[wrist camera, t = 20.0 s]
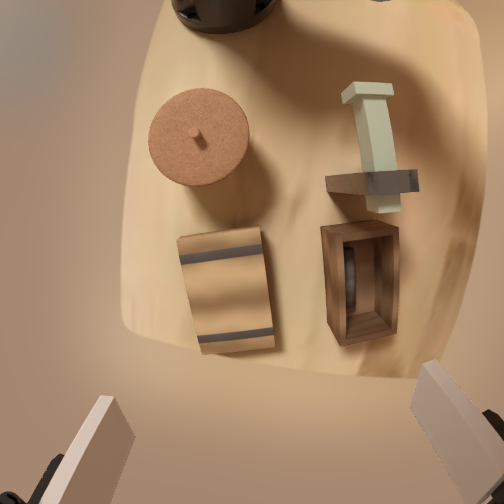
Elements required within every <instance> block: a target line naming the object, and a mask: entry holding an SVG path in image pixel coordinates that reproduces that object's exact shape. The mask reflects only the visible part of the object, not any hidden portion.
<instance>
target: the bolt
mask: <svg viewBox="0 0 504 504" xmlns="http://www.w3.org/2000/svg"><path fill="white" fill-rule="evenodd" d="M392 96H394V91H393V87H392V83H378V82H352V83H351V84H350V85H349V86H348V87H347V88H346V89H345V90H344V91H343V92H342V93H341V98H342V103H343V105H344V104H352V107H353V112H354V118H355V123H356V129H357V135H358V141H359V148H360V155H361V162H362V170H363V172H376V171H394V170H397V163H396V155H395V148H394V141H393V135H392V129H391V124H390V118H389V113H388V108H387V103H386V100H387V99H388V98H390V97H392ZM365 196H366V207H367V211H371V212H375V213H379V214H380V213H389V212H398V211H401V203H400V193H395V194H384V195H373V196H367V195H365Z"/></svg>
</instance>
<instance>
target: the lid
mask: <svg viewBox="0 0 504 504" xmlns="http://www.w3.org/2000/svg"><path fill="white" fill-rule="evenodd" d="M176 241H177V246H178V251H179V258H180V263H181V266H182V271H183V276H184V281H185V285H186V290H187V294H188V299H189V303H190V308H191V312H192V316H193V320H194V325H195V329H196V333H197V338H198V342H199V345H200V348H201V352H202V355H208V354H219V353H229V352H239V351H248V350H256V349H264V348H272V347H275V340H274V331H273V324H272V317H271V309H270V301H269V294H268V286H267V279H266V271H265V264H264V257H263V248H262V242H261V235H260V228H259V225H255V226H248V227H241V228H234V229H227V230H220V231H214V232H207V233H201V234H194V235H188V236H181V237H180V238H178V239H177V240H176Z"/></svg>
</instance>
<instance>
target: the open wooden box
mask: <svg viewBox="0 0 504 504" xmlns="http://www.w3.org/2000/svg"><path fill="white" fill-rule="evenodd" d="M321 238H322V249H323V261H324V274H325V289H326V306H327V323H328V325H329V326H330V328H331V330H332V332H333V334H334V336H335V338H336V340H337V341H338V343H339V345H340V346H344V345H349V344H354V343H359V342H363V341H368V340H372V339H376V338H380V337H384V336H388V335H392V334H396V333H397V320H398V303H399V227H396V226H393V225H390V224H387V223H384V222H381V221H377V220H369V221H361V222H353V223H346V224H338V225H330V226H322V227H321Z"/></svg>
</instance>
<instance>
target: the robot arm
mask: <svg viewBox="0 0 504 504" xmlns="http://www.w3.org/2000/svg"><path fill="white" fill-rule="evenodd" d="M275 1H276V0H171V2H172V6H173V9H174V11H175V13H176V15H177V17H178V18H179V20H180V21H181V22H182V23H184V24H185V25H186V26H188V27H190V28H192V29H195V30H198V31H201V32H206V33H231V32H237V31H241V30H244V29H247V28H250V27H252V26H254V25H256V24H258V23H259V22H261V21H262V20H263V19H265V18H266V17H267V16H268V15H269V14H270V12H271V11H272V9H273V7H274V5H275ZM372 1H377V2H382V1H390V0H372ZM411 410H412V412H413V413H414V415H415V417H416V418H417V420H418V421H419V423H420V425H421V427H422V428H423V430H424V432H425V433H426V435H427V437H428V439H429V440H430V442H431V444H432V445H433V447H434V449H435V451H436V452H437V454H438V456H439V457H440V460H441V461H442V463H443V465H444V467H445V469H446V470H447V472H448V474H449V476H450V478H451V480H452V482H453V483H454V485H455V487H456V489H457V491H458V493H459V495H460V497H461V499H462V501H463V503H464V504H481V503H483V502H484V501H485V500H486V499H487V498H488V497H489V496H490V495H491V496H492V497H493V498H492V499H491V501H489V502H488V503H487V504H504V421H503V420H502V419H501V417H500V416H499V415H498V414H496V413H494V412H492V411H491V410H489V409H488V410H486V411H485V412H483V413H481V412H480V410H479V409H478V408H477V407H476V406H475V404H474V403H473V402H472V401H471V399H470V398H469V397H468V396H467V395H466V393H465V392H464V391H463V390H462V389H461V388H460V386H459V385H458V384H457V383H456V382H455V380H454V379H453V378H452V377H451V376H450V375H449V374H448V373H447V371H446V370H445V369H444V368H443V367H442V366H441V364H440V363H439V362H438V361H437V360H436V359H434V360H431V361H428V362H425V363H422V364H421V369H420V373H419V377H418V382H417V386H416V389H415V394H414V397H413V401H412V404H411ZM135 437H136V436H135V435H134V433H133V431H132V429H131V427H130V426H129V424H128V422H127V420H126V418H125V416H124V415H123V413H122V411H121V409H120V407H119V405H118V403H117V401H116V399H115V397H113V396H103V395H100V397H99V399H98V400H97V402H96V403H95V405H94V407H93V408H92V410H91V412H90V413H89V415H88V417H87V418H86V420H85V421H84V423H83V425H82V427H81V428H80V430H79V432H78V433H77V435H76V437H75V438H74V440H73V442H72V444H71V445H70V447H69V449H68V451H67V452H66V454H65V455H63V454H59V455H57V456H56V457H55V458H54V459H53V460H52V461H51V462H50V464H49V466H48V467H47V471H45V473H44V474H43V478H41V480H40V482H39V483H38V485H37V487H36V489H35V491H34V492H33V494H32V496H31V498H30V500H29V501H28V503H27V504H110V503H111V500H112V498H113V495H114V492H115V489H116V487H117V484H118V481H119V479H120V476H121V473H122V471H123V468H124V465H125V463H126V460H127V457H128V455H129V453H130V450H131V448H132V445H133V442H134V440H135ZM0 504H26V503H25V502H24V501H23V500H22V499H21V498H20V497H19V496H18V495H16V494H15V493H13V492H4V493H2V494H1V495H0Z"/></svg>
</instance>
